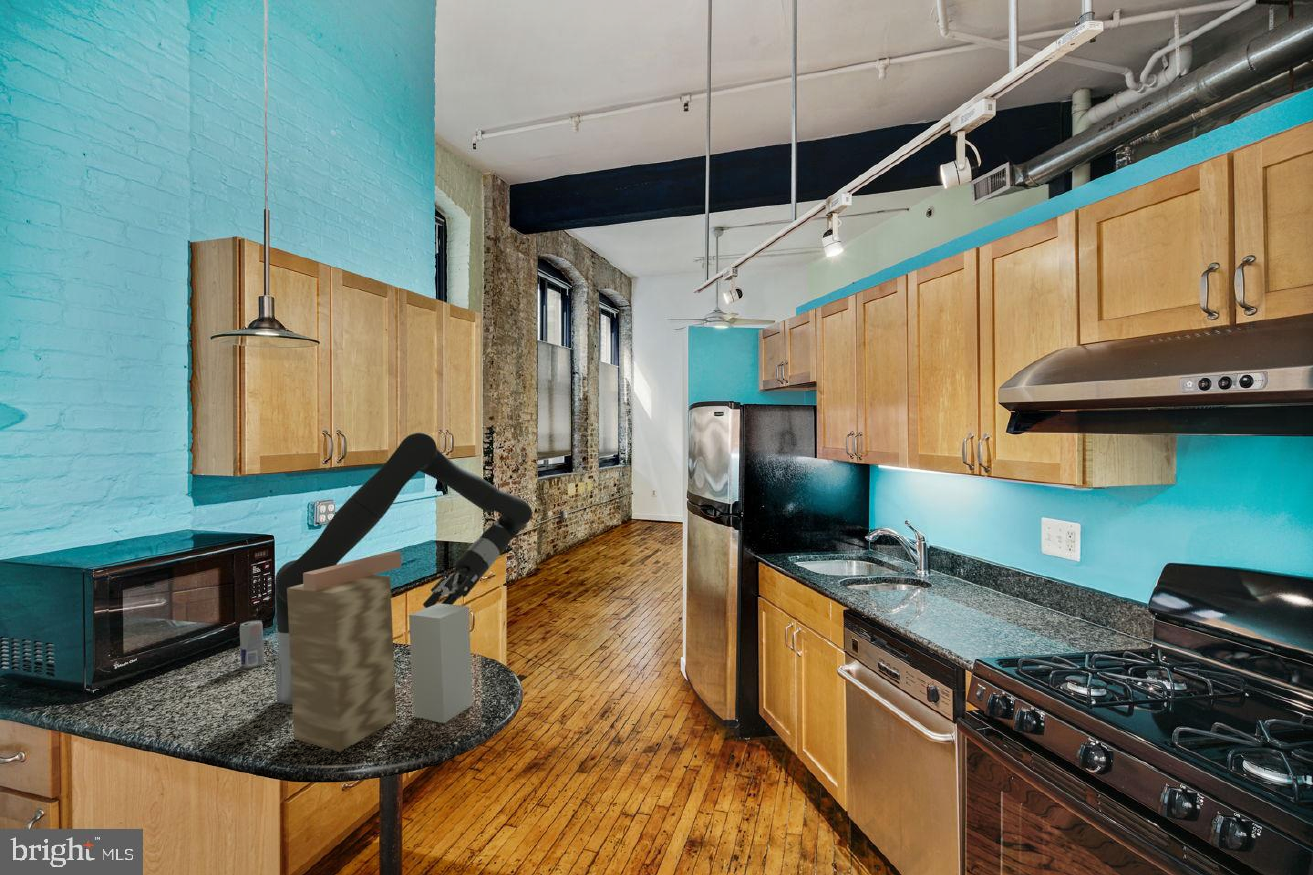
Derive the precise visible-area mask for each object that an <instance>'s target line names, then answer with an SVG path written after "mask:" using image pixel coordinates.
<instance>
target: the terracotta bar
mask: <svg viewBox="0 0 1313 875" xmlns="http://www.w3.org/2000/svg"><path fill="white" fill-rule="evenodd" d="M400 568H403V567H402V552H401V551H386V552H383V553H379V554H374V555H369V556H366V557H362V558H359V559H355V560H351V561H347V562H344V563H343V562H342V563H337V565H334V566H330V567H326V568H322V569H318V570H314V571H310V572H306V573H303V585H304V590H307V591H318V590H322V589H325V588H329V587H332V586H336V585H340V584H343V583H347V582H350V581H354V580H357V579H361V578H364V577H368V576H371V575H379V574H382V573H385V572H389V571H392V570H396V569H400Z"/></svg>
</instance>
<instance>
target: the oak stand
mask: <svg viewBox="0 0 1313 875" xmlns="http://www.w3.org/2000/svg"><path fill="white" fill-rule="evenodd" d="M391 588H392V587H391V576H390V575H388V576H387V575H379V574H375V575H371V576H368V577H364V578H361V579H357V580H354V581H350V582H347V583H343V584H340V585H336V586H332V587H329V588H325V589H322V590H318V591H307V590H304V585H303V584H301V585H297V586H293V587H290V588H287V599H288V621H289V642H290V664H291V685H292V723H293V724H292V726H293V740H294V739H295V741H297V740H299V741H298V742H301V741H302V742H301V743H305V742H306V743H305V744H309V745H312V744H313V746H316V745H317V746H316V747H320V748H325V749H328V750H332V751H334V752H339V753H341V752H343V751H344V749H345V750H346V749H348V748H350V747H352V746H353V745H355V744H358V743H359V742H361V741H362V740H364V739H366V738H367V737H369V736H371V735H372V734H375V733H376V732H378V731H379V729H380V730H382V729H383V728H385V727H387V726H388V725H391V724H392V723H394V722H395V721H397V703H396V701H397V699H396V698H397V696H396V680H395V679H396V678H395V659H394V658H395V657H394V655H395V654H394V637H393V636H394V633H393V631H394V630H393V612H392V607H393V606H392V589H391ZM393 721H394V722H393ZM387 724H388V725H387ZM386 725H387V726H386ZM384 726H385V727H384ZM382 727H383V728H382ZM377 730H378V731H377ZM365 737H366V738H365ZM351 745H352V746H351ZM349 746H350V747H349Z"/></svg>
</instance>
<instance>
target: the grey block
mask: <svg viewBox="0 0 1313 875" xmlns="http://www.w3.org/2000/svg"><path fill="white" fill-rule="evenodd" d="M441 603H442V602H440V603H438V602H437V603H436V604H435V605H433V606H430V607H428V608H425V607H424V608H423V609H421V610H417V611H414V612H411V613H410V614H409V615H408V621H409V623H408V624H409V646H410V647H409V648H410V669H411V670H410V671H411V686H412V687H411V690H412V692H411V693H412V708H413V709H412V711H413V712H412V714H413V717H414V718H418V719H422V718H423V720H427V719H429V720H428V721H431V720H432V722H437V723H442V724H445V723H448V722H449V721H451V720H452V719H453V718H456V716H458V715H459V714H461V713H463V712H465V711H466V710H468V709H469V708H470V707H473V705H474V702H473V700H474V699H473V679H472V659H471V658H472V657H471V634H470V633H471V632H470V630H471V629H470V615H469V614H470V613H469V612H470V611H469V606H466V605H457V604H453V605H450V604H441Z"/></svg>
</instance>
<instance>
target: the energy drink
mask: <svg viewBox="0 0 1313 875" xmlns="http://www.w3.org/2000/svg"><path fill="white" fill-rule="evenodd" d="M263 630H264V629H263V622H262V620H259V619H254V620H249V621H246V622H243V623H241V624H240V625H239V640H240V641H239V642H240V643H239V644H240V662H241V665H240V667H241V668H243V669H254V668H257V667H259V666H262V665H264V663H265V654H264V652H265V649H264V633H263Z"/></svg>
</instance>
